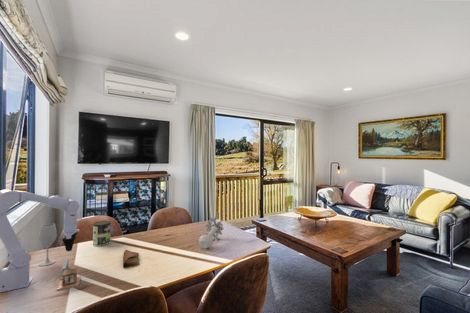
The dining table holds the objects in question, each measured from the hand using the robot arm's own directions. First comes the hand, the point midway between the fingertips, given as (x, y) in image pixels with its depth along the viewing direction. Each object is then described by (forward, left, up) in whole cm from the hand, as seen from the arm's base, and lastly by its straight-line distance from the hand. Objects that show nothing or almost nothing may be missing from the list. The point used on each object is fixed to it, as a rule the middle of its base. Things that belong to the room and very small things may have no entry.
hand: (69, 248), depth 118 cm
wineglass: (-11, +13, -11) cm, 20 cm away
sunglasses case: (+29, -6, -11) cm, 32 cm away
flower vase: (+80, -6, -11) cm, 81 cm away
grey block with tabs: (-1, -7, -10) cm, 13 cm away
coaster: (+2, -18, -10) cm, 21 cm away
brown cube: (+2, -18, -10) cm, 21 cm away
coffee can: (+15, +31, -11) cm, 36 cm away
